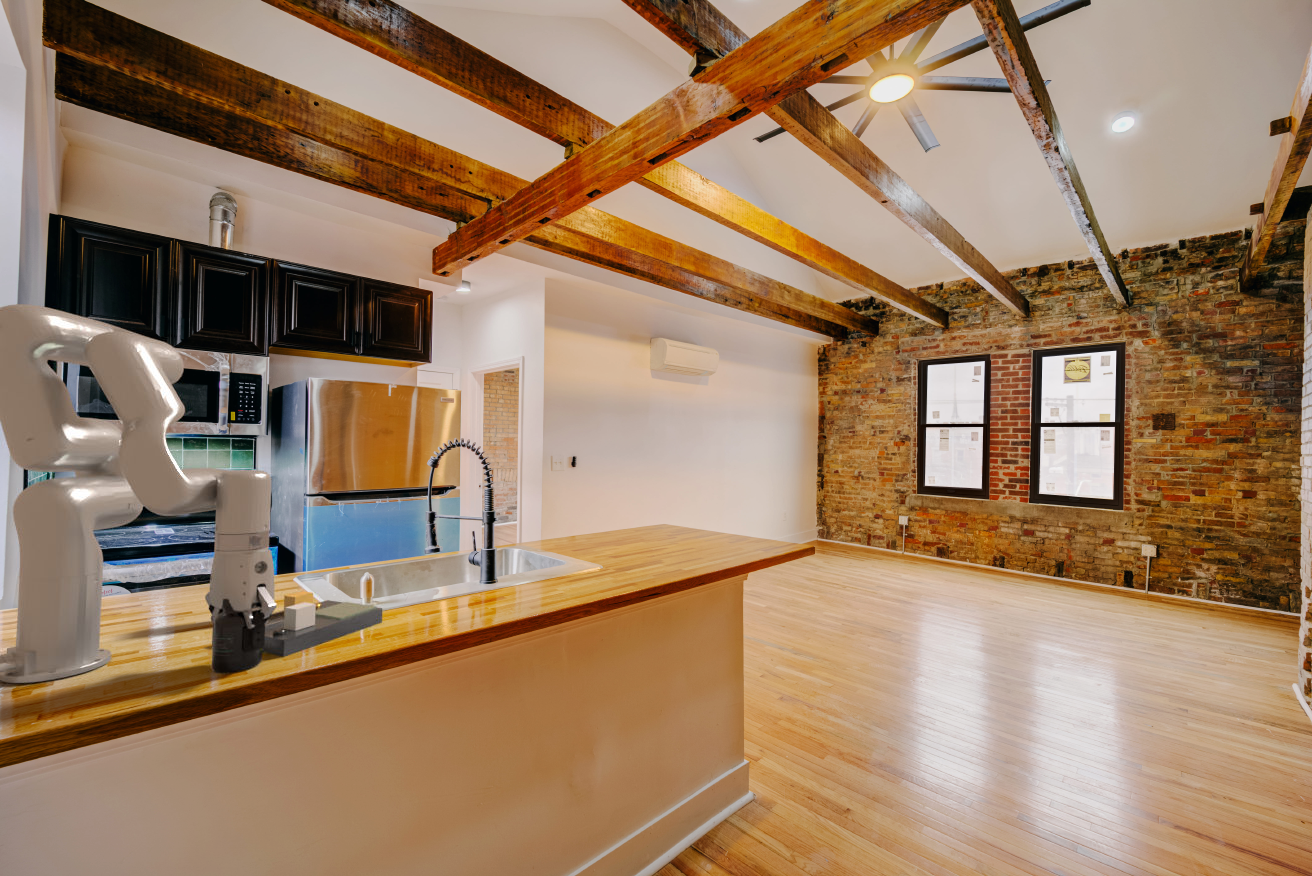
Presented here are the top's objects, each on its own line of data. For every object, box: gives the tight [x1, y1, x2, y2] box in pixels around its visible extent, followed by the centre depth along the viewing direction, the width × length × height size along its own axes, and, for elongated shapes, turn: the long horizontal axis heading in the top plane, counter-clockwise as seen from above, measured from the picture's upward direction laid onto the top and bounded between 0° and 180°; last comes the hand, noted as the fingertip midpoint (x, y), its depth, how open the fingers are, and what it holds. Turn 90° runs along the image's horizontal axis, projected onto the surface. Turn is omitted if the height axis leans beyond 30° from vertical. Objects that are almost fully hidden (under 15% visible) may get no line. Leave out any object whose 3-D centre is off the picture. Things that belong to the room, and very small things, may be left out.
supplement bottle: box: [211, 599, 263, 674], centre depth 95 cm, size 7×7×12 cm
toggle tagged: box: [283, 591, 314, 616], centre depth 115 cm, size 4×3×4 cm
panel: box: [262, 599, 383, 658], centre depth 113 cm, size 22×16×4 cm
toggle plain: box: [284, 602, 316, 631], centre depth 107 cm, size 4×3×4 cm
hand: (238, 646), depth 95 cm, fingers closed on supplement bottle, 6 cm apart
